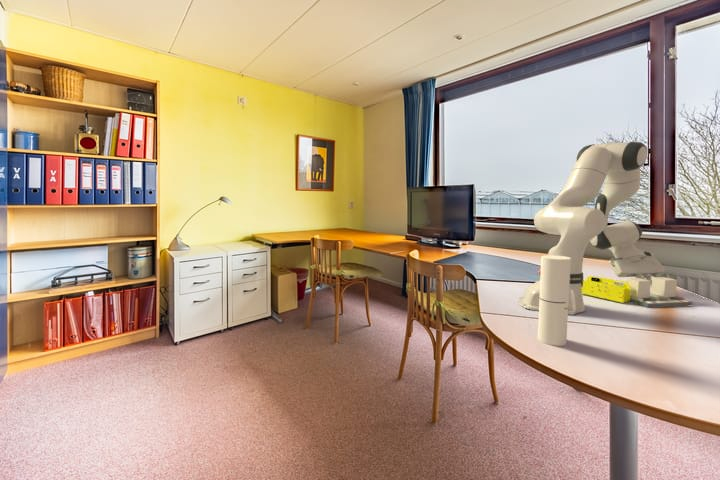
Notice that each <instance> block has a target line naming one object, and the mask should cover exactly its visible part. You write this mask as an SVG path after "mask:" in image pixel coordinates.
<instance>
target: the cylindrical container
mask: <svg viewBox="0 0 720 480" xmlns="http://www.w3.org/2000/svg"><path fill="white" fill-rule="evenodd" d="M540 256H541V257H540V269H541V275H540V274H539V275H540V277H539V280H540V299H539V311H538V324H537V325H538V328H537V340H539V341H540V342H541V343H543V344H546V345H550V346H555V347H556V346H557V347H563V346H566V345H567V341H568V340H567V338H568V337H567V335H568V322H569V321H568V319H569V318H568V317H569V314H568V303H569V283H570V264H571V258H570V257H565V256H556V255H548V254H547V255H546V254H544V255H540Z"/></svg>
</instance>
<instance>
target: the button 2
mask: <svg viewBox="0 0 720 480" xmlns="http://www.w3.org/2000/svg"><path fill="white" fill-rule="evenodd" d="M651 277H652V279H651V280H652V283H651V286H650V293H653V294H656V295H660V296H664V297H676V295H677V289H678V288H677V287H678V279H675V278H670V277H665V276H651Z"/></svg>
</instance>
